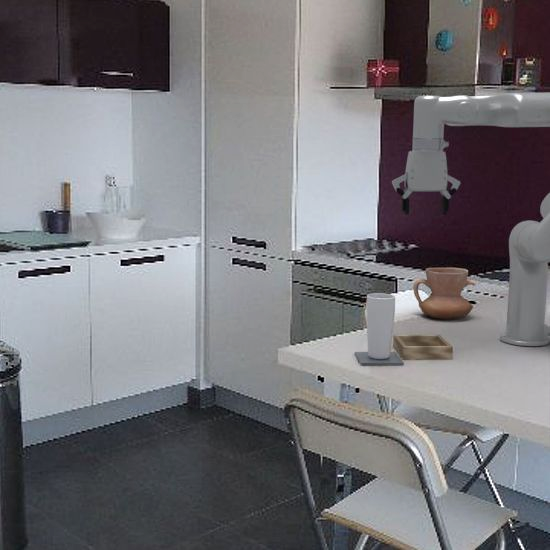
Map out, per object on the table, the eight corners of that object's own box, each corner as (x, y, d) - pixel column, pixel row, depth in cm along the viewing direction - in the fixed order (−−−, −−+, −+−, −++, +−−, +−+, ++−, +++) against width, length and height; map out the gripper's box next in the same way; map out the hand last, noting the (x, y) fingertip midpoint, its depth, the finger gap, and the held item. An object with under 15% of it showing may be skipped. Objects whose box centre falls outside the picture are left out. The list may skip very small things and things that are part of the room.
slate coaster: (394, 353, 208) (394, 351, 208) (403, 365, 198) (403, 362, 198) (354, 354, 207) (354, 351, 207) (361, 365, 198) (361, 363, 197)
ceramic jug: (475, 313, 254) (477, 267, 252) (474, 323, 241) (475, 274, 238) (415, 310, 259) (416, 265, 257) (410, 320, 245) (411, 272, 243)
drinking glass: (392, 361, 199) (394, 299, 196) (363, 359, 200) (365, 297, 198) (394, 354, 205) (396, 293, 203) (366, 352, 207) (368, 292, 204)
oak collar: (439, 346, 216) (440, 334, 215) (452, 359, 204) (452, 347, 204) (393, 346, 215) (393, 335, 214) (403, 359, 203) (403, 347, 203)
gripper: (457, 146, 216) (454, 212, 219) (390, 145, 215) (388, 212, 218) (465, 146, 209) (462, 215, 212) (396, 146, 207) (394, 215, 210)
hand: (424, 214), depth 215 cm, fingers open, 9 cm apart
